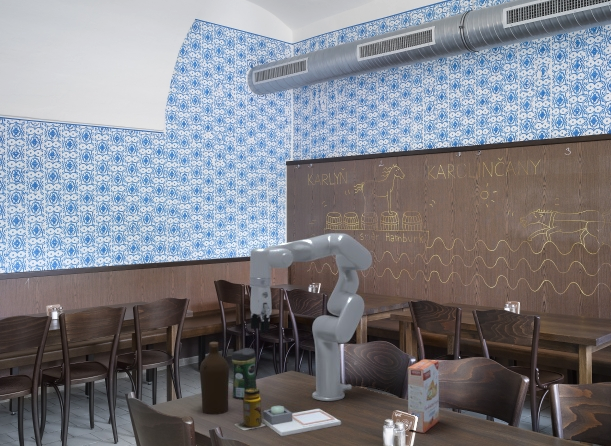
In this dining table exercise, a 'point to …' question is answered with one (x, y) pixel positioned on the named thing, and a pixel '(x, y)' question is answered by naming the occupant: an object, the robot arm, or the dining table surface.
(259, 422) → the condiment
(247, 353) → the coffee jar
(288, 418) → the board
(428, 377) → the cracker box
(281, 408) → the button
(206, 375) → the olive oil
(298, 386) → the dining table surface
